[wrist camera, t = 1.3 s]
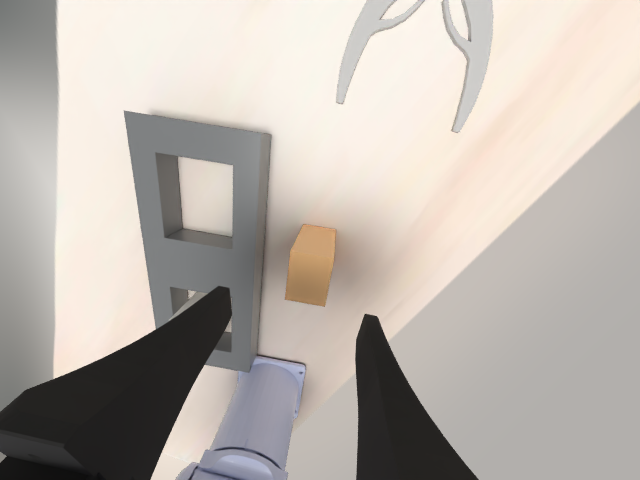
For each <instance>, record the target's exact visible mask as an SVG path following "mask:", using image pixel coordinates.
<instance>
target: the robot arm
mask: <svg viewBox="0 0 640 480" xmlns="http://www.w3.org/2000/svg"><path fill="white" fill-rule="evenodd" d="M231 316H232V309H231V298H230V288H228V287H223V286H217V287H216V288H215V289H213V290H212V291H211V292H209V293H208V294H206V295H205V296H204V297H202V298H201V299H200V300H198V301H197V302H196V303H194V304H193V305H192V306H190V307H189V308H187V309H186V310H185V311H183V312H182V313H180V314H179V315H177V316H176V317H174V318H173V319H171V320H170V321H168V322H167V323H165V324H164V325H162V326H161V327H159V328H157V329H156V330H154V331H153V332H151V333H149V334H148V335H146V336H144V337H142V338H141V339H139V340H137V341H135V342H133V343H132V344H130V345H128V346H126V347H124V348H122V349H120V350H118V351H116V352H114V353H112V354H110V355H108V356H106V357H104V358H102V359H100V360H97V361H95V362H93V363H91V364H89V365H86V366H84V367H82V368H79V369H77V370H75V371H73V372H70V373H68V374H65V375H63V376H60V377H58V378H55V379H53V380H50V381H48V382H45V383H42V384H40V385H37V386H35V387H32V388H30V389H27V390H25V391H24V392H23V393H22V394H21V395H20V396H18V397H17V398H16V399H15V400H14V401H12V402H11V403H10V404H9V405H8V406H7V407H5V408H4V409H3V410H2V411H1V412H0V452H2V453H3V454H5V455H6V456H7V457H6V458H5V459H4V460H3V461H2V462H1V463H0V480H150V479H151V477H152V474H153V472H154V469H155V467H156V465H157V462H158V460H159V457H160V455H161V453H162V450H163V448H164V446H165V444H166V441H167V439H168V437H169V435H170V432H171V430H172V428H173V426H174V423H175V421H176V419H177V417H178V415H179V413H180V411H181V409H182V406H183V404H184V402H185V400H186V398H187V396H188V394H189V392H190V390H191V388H192V386H193V384H194V382H195V380H196V378H197V377H198V375H199V373H200V371H201V370H202V368H203V367H204V365H205V363H206V362H207V360H208V358H209V357H210V355H211V353H212V352H213V350H214V348H215V347H216V345H217V343H218V342H219V340H220V338H221V337H222V335H223V333H224V331H225V329H226V327H227V325H228V323H229V320H230V318H231ZM355 361H356V379H357V396H358V418H359V419H358V451H357V452H358V453H357V476H356V480H478V478H477V477H476V476H475V475H474V474H473V472H472V471H471V470H470V469H469V468H468V466H467V465H466V464H465V463H464V462H463V460H462V459H461V458H460V457H459V455H458V454H457V453H456V451H455V450H454V449H453V448H452V446H451V445H450V444H449V442H448V441H447V440H446V438H445V437H444V436H443V434H442V433H441V431H440V430H439V429H438V427H437V426H436V425H435V423H434V422H433V421H432V419H431V418H430V416H429V415H428V413H427V412H426V410H425V409H424V407H423V406H422V404H421V403H420V401H419V400H418V398H417V396H416V395H415V393H414V391H413V390H412V388H411V386H410V385H409V383H408V381H407V380H406V378H405V376H404V374H403V372H402V370H401V369H400V367H399V365H398V363H397V361H396V359H395V357H394V355H393V352H392V351H391V348H390V346H389V344H388V342H387V339H386V337H385V335H384V332H383V330H382V327H381V325H380V322H379V319H378V317H377V316H373V315H368V314H365V315H364V318H363V321H362V324H361V327H360V330H359V333H358V336H357V339H356V358H355ZM305 371H306V366H305V365H303V364H298V363H293V362H287V361H282V360H277V359H271V358H266V357H260V356H256V358H255V360H254V363H253V365H252V367H251V370H250V372H249V373H247V372H242V371H238V385H237V388H236V390H235V392H234V394H233V397H232V399H231V401H230V404H229V406H228V408H227V410H226V413H225V415H224V417H223V420H222V422H221V424H220V427H219V429H218V431H217V433H216V436H215V438H214V440H213V443H212V445H211V447H210V449H209V450H205V452H204V454H203V457H202V459H201V461H200V463H195V462H192V463H191V464H189V466H187V467H186V468H185V469H183V470H182V471H181V472H180V474H179V475H178V476H177V478H176V479H175V480H287V477H288V472H286V471H285V466H286V460H287V454H288V448H289V442H290V437H291V431H292V426H293V420H294V418H297V416H298V410H299V404H300V399H301V393H302V387H303V382H304V376H305Z"/></svg>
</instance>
